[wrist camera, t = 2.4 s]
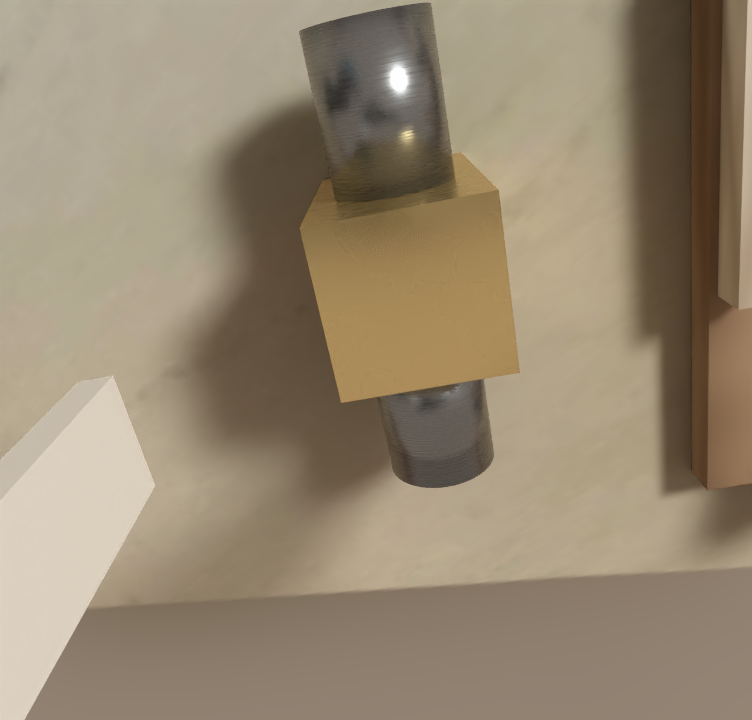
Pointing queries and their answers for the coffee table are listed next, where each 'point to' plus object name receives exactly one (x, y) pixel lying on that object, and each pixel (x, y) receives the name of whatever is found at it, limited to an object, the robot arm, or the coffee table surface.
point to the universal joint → (405, 246)
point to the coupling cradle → (721, 241)
